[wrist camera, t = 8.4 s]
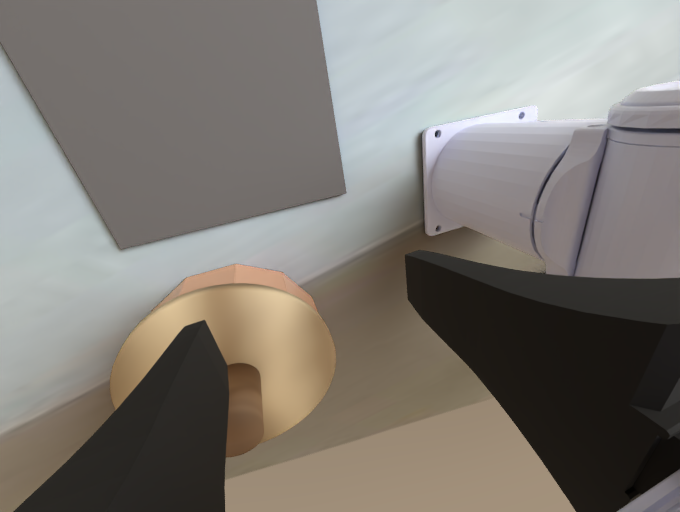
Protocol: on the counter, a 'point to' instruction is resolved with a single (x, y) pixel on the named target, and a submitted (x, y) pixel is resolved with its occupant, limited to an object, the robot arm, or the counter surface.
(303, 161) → the mat
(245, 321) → the lid
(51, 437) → the counter surface
